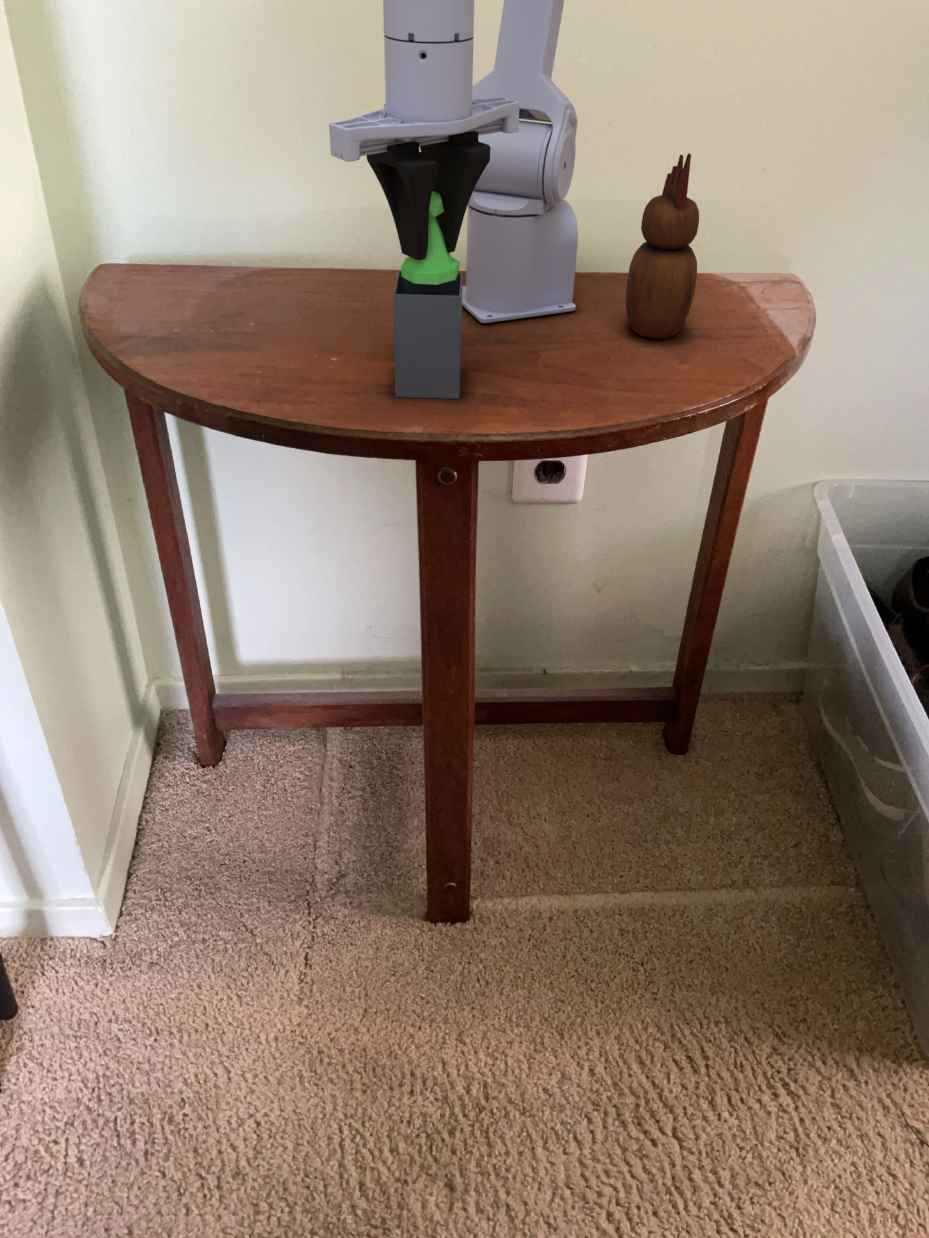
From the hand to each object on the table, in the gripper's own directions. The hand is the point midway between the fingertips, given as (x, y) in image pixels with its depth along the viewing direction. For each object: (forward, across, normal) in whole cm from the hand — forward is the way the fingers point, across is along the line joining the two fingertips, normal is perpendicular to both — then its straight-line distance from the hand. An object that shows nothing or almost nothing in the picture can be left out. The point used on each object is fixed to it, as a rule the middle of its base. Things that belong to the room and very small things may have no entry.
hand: (428, 252), depth 71 cm
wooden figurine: (+10, -22, +3) cm, 25 cm away
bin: (+10, 0, 0) cm, 10 cm away
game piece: (+2, 0, 0) cm, 2 cm away
